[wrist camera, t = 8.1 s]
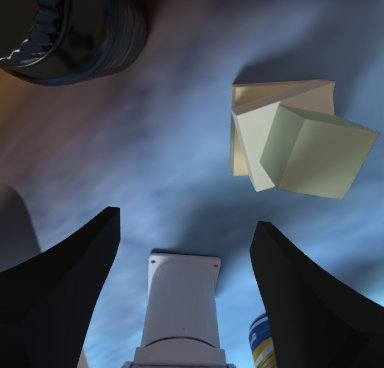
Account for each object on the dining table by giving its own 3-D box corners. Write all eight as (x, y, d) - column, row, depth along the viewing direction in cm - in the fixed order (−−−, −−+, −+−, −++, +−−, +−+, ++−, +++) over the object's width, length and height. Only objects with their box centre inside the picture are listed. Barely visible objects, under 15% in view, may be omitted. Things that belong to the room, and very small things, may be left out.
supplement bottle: (106, -71, 15) (-98, -378, 4) (167, 41, 18) (133, 22, 7) (26, -2, 16) (-268, -102, 6) (93, 91, 19) (-24, 137, 9)
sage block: (312, 171, 18) (342, 199, 14) (259, 161, 17) (277, 189, 14) (336, 115, 16) (379, 133, 12) (278, 104, 15) (305, 118, 12)
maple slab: (304, 160, 23) (317, 171, 20) (229, 164, 23) (233, 176, 21) (319, 78, 19) (335, 81, 17) (230, 83, 20) (236, 87, 17)
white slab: (321, 155, 20) (338, 167, 18) (249, 177, 21) (256, 192, 18) (313, 79, 17) (332, 82, 15) (230, 108, 18) (236, 116, 16)
